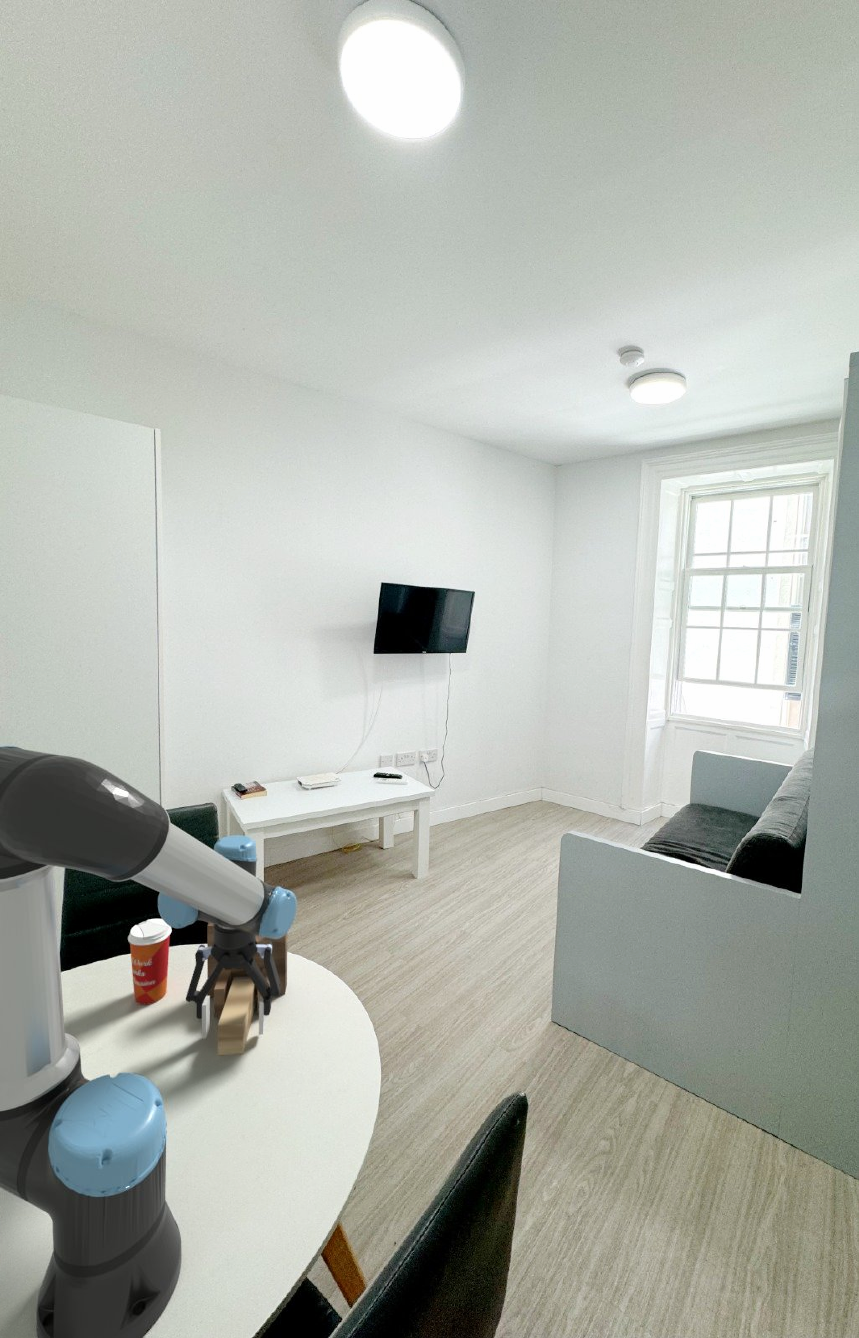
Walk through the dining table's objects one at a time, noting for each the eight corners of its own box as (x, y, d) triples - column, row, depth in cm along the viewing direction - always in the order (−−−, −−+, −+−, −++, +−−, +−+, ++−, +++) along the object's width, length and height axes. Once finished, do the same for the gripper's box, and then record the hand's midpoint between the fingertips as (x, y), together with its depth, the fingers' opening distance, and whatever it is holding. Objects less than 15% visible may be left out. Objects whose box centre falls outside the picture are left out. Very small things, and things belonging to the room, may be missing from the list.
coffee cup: (121, 997, 118) (119, 929, 117) (158, 977, 125) (158, 913, 124) (142, 1014, 114) (141, 943, 112) (180, 992, 120) (179, 925, 119)
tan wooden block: (243, 1053, 104) (243, 1023, 104) (217, 1055, 104) (217, 1024, 103) (256, 1003, 118) (256, 976, 117) (233, 1004, 117) (234, 977, 117)
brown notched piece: (281, 1013, 115) (282, 938, 114) (199, 1018, 113) (199, 942, 112) (286, 984, 124) (287, 915, 123) (211, 988, 122) (211, 918, 120)
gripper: (297, 907, 111) (295, 1014, 113) (178, 911, 108) (179, 1020, 110) (293, 927, 104) (291, 1041, 106) (165, 932, 101) (166, 1049, 103)
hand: (234, 1031), depth 108 cm, fingers open, 10 cm apart
